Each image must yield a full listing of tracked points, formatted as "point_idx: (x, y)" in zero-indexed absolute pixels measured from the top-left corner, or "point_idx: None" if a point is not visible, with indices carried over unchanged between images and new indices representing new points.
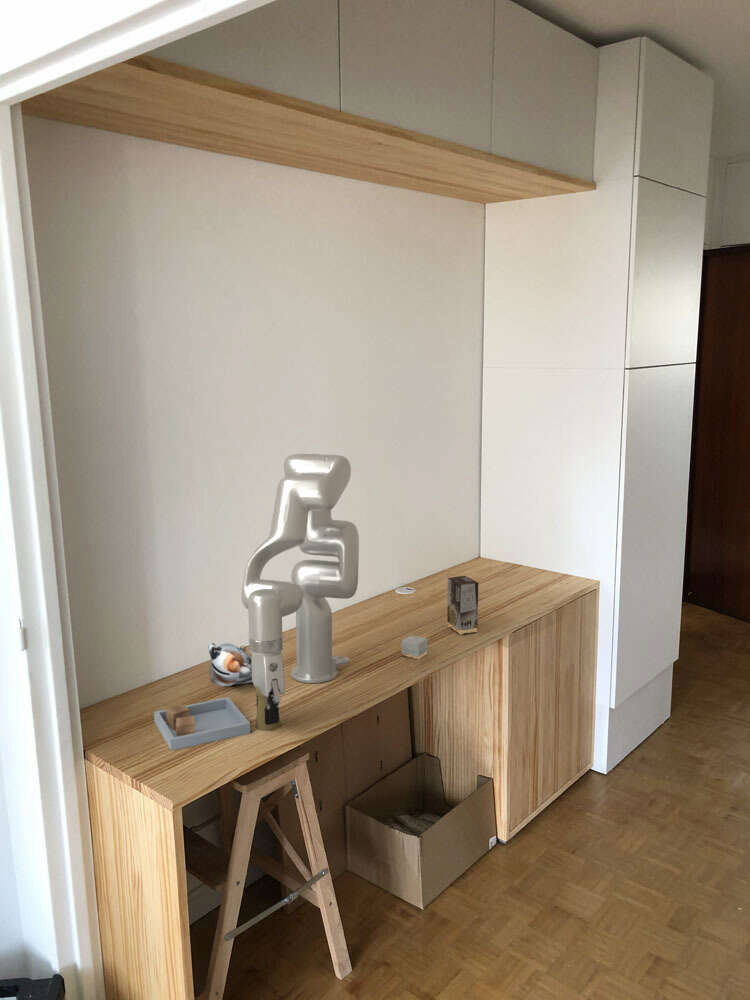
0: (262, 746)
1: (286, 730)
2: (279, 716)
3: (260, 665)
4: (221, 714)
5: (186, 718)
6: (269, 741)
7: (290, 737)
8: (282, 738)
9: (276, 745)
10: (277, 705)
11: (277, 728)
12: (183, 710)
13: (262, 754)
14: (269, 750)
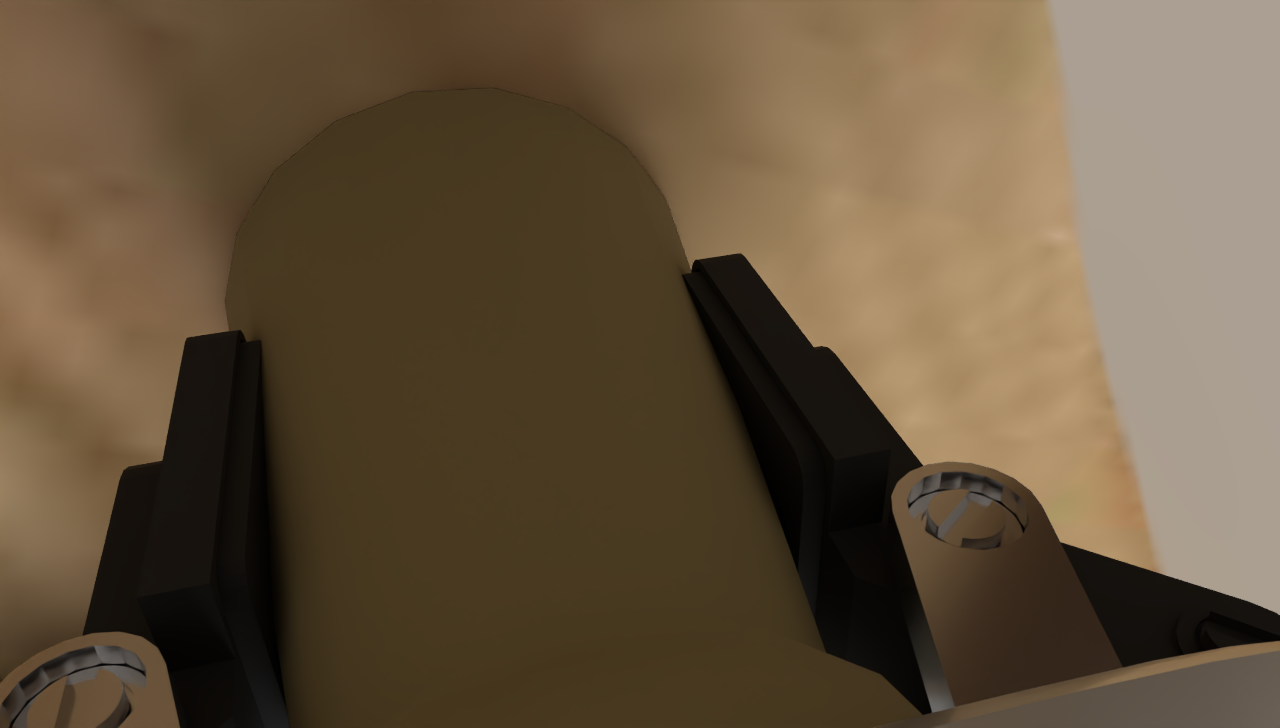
0: (971, 450)
1: (704, 37)
2: (532, 195)
3: None
4: None
5: None
6: (903, 358)
7: (968, 43)
8: (926, 173)
9: (1053, 293)
10: (1113, 563)
11: (665, 208)
12: None
13: (1131, 469)
14: (1106, 390)
